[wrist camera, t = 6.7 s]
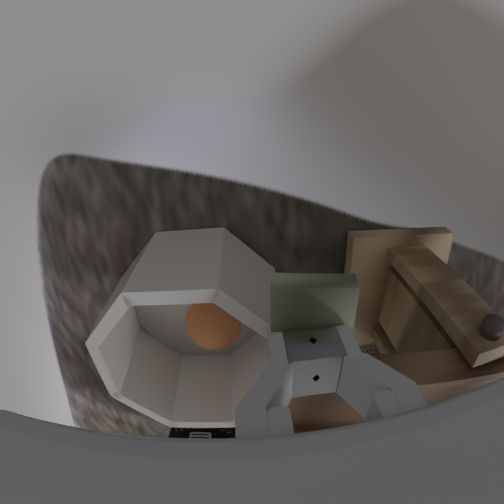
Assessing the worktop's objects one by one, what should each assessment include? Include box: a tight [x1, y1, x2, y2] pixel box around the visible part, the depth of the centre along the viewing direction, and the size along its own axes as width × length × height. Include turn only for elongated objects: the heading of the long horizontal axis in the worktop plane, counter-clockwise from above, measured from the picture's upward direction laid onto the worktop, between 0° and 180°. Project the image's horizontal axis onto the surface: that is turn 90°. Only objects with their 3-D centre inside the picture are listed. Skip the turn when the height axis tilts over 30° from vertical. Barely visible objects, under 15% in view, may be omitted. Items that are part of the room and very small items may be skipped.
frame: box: [344, 227, 504, 368], centre depth 17 cm, size 8×9×12 cm
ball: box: [186, 303, 242, 350], centre depth 19 cm, size 4×4×4 cm
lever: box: [270, 273, 504, 433], centre depth 11 cm, size 20×9×3 cm, turn 93°
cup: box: [85, 227, 276, 428], centre depth 18 cm, size 10×10×7 cm
